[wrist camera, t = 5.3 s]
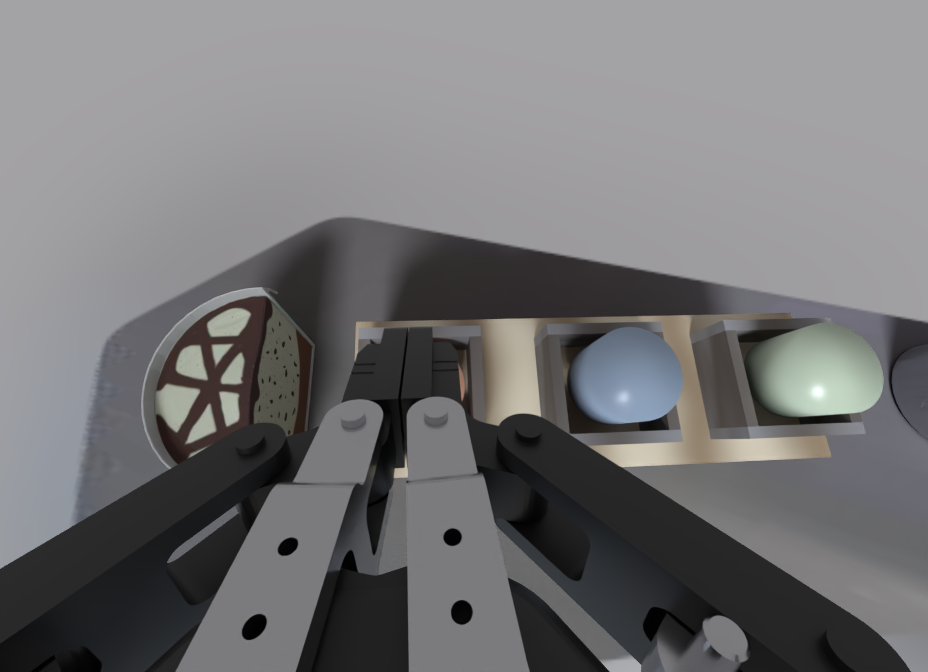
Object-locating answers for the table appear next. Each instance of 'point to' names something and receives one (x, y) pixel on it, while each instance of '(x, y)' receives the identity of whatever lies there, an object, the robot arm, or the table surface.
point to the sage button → (814, 372)
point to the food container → (226, 374)
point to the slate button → (625, 377)
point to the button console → (639, 443)
